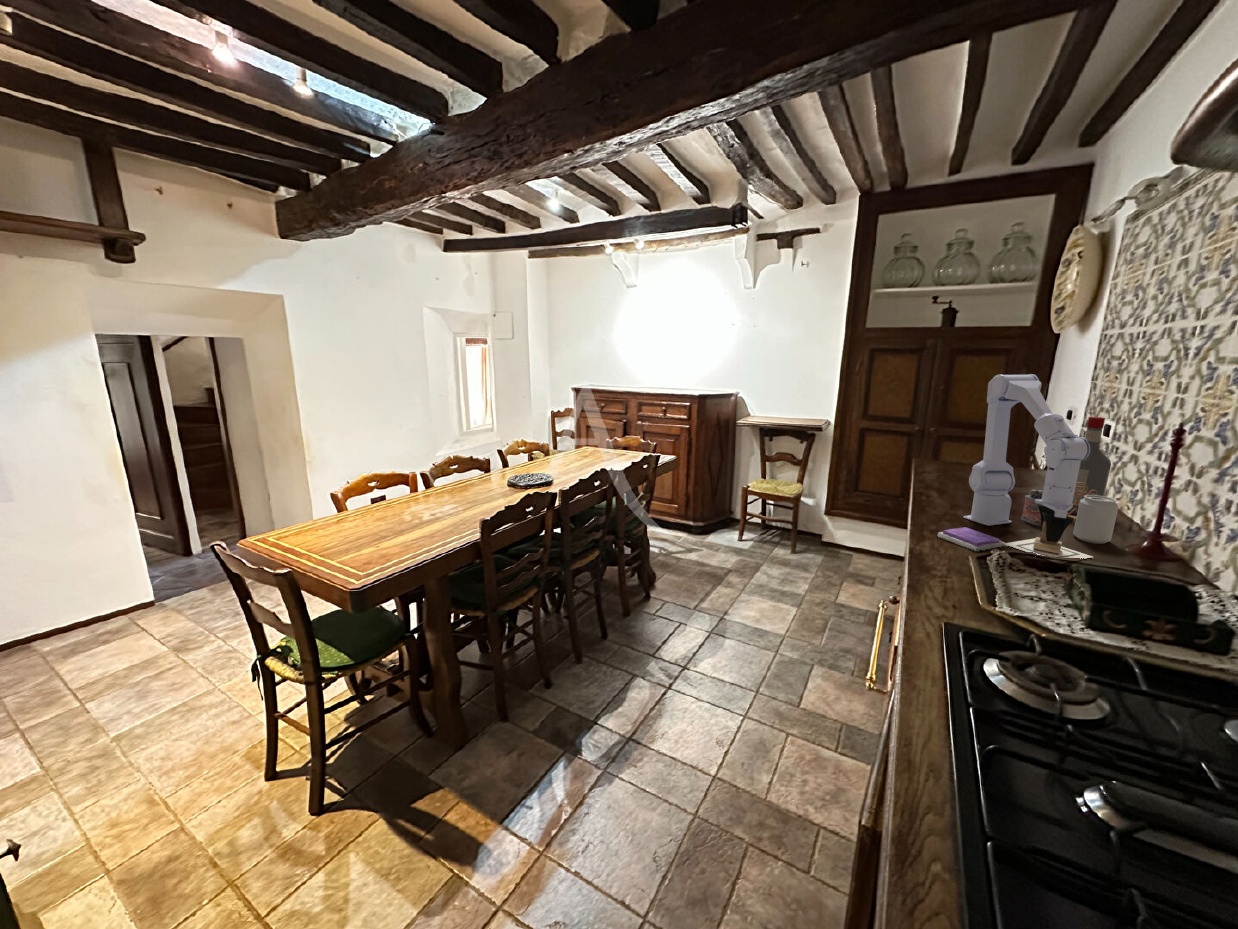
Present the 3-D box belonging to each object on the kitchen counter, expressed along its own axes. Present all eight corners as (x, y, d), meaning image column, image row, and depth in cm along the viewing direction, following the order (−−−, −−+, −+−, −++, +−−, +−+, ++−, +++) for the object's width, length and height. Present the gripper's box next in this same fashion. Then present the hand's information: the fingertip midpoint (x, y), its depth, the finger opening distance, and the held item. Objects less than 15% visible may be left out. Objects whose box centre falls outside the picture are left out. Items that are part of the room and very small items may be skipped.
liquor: (1072, 514, 151) (1092, 419, 144) (1051, 505, 159) (1068, 415, 153) (1105, 515, 149) (1126, 419, 143) (1082, 506, 158) (1101, 415, 151)
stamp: (1034, 544, 127) (1039, 519, 125) (1060, 549, 123) (1065, 523, 122) (1032, 550, 123) (1037, 523, 122) (1058, 555, 120) (1064, 528, 118)
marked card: (1035, 539, 131) (1036, 537, 131) (1093, 558, 119) (1093, 556, 119) (1003, 545, 128) (1003, 543, 128) (1058, 564, 116) (1059, 562, 116)
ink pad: (964, 532, 137) (965, 525, 136) (1004, 546, 127) (1005, 539, 126) (937, 536, 134) (938, 529, 134) (975, 551, 124) (976, 544, 123)
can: (1100, 536, 133) (1109, 494, 130) (1117, 546, 126) (1127, 502, 123) (1066, 533, 135) (1075, 492, 133) (1081, 543, 128) (1090, 500, 126)
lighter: (1017, 518, 148) (1023, 487, 145) (1027, 518, 148) (1033, 487, 146) (1042, 527, 140) (1048, 494, 138) (1053, 527, 140) (1059, 494, 138)
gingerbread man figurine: (1054, 519, 147) (1061, 481, 144) (1053, 516, 150) (1060, 478, 147) (1094, 525, 141) (1102, 486, 139) (1092, 521, 144) (1100, 483, 142)
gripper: (1034, 477, 128) (1025, 525, 131) (1043, 489, 116) (1033, 542, 119) (1070, 480, 124) (1060, 530, 127) (1083, 494, 112) (1071, 548, 115)
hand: (1049, 536), depth 122 cm, fingers open, 7 cm apart
